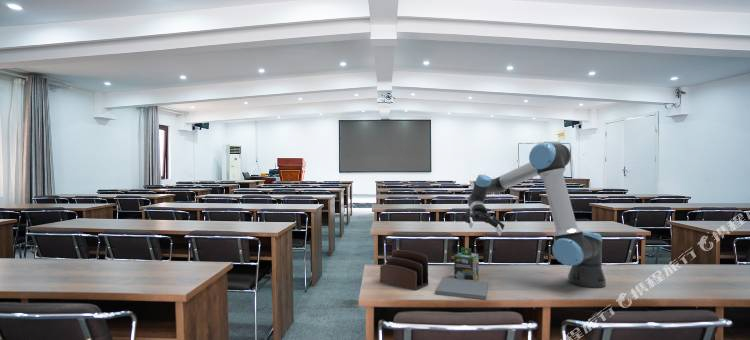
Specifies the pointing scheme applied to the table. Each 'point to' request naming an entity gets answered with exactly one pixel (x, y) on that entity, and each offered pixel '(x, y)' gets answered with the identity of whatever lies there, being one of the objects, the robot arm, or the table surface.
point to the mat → (462, 288)
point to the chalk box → (466, 265)
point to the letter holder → (405, 270)
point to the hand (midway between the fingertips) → (486, 229)
